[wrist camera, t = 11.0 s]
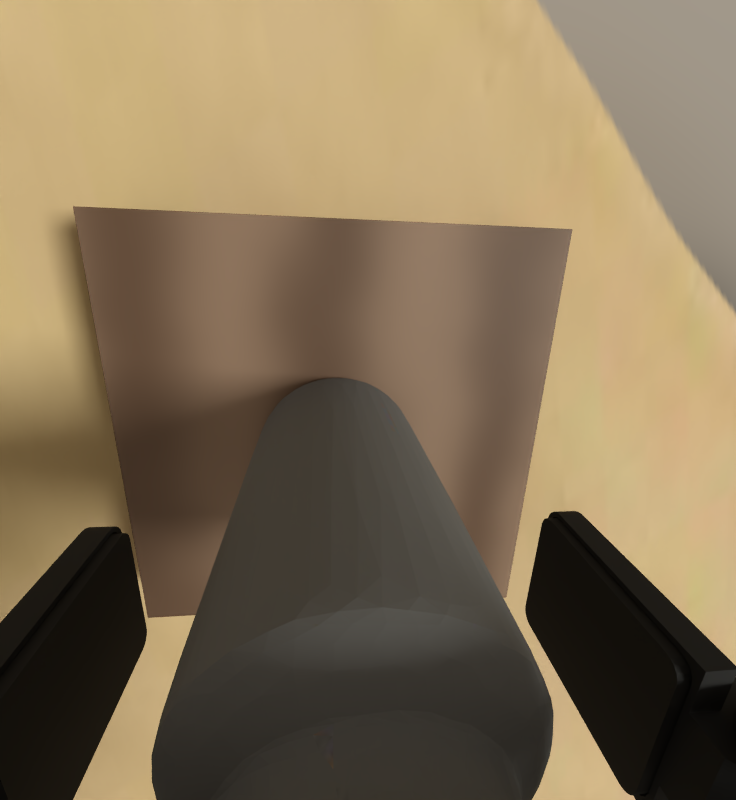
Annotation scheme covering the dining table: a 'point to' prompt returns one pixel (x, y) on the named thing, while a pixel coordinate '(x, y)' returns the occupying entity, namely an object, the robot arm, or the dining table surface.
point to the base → (312, 359)
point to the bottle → (350, 630)
